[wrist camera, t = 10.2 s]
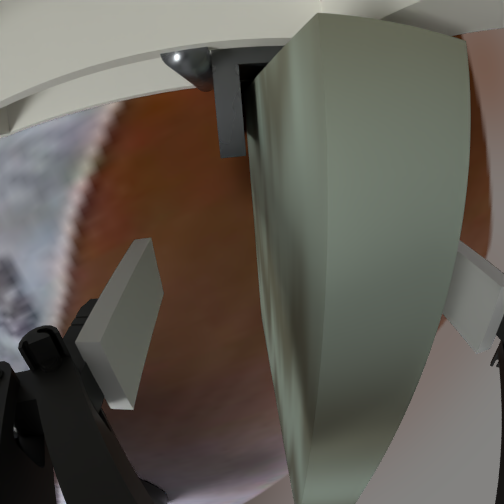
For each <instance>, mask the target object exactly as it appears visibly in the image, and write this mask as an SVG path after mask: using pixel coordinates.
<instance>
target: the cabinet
mask: <svg viewBox="0 0 504 504" xmlns="http://www.w3.org/2000/svg"><path fill="white" fill-rule="evenodd" d="M316 13H330V14H340V15H350V16H358V17H365V18H372V19H378V20H384V21H390V22H395V23H400V24H405V25H409V26H414V27H418V28H422V29H426V30H430V31H434V32H438V33H441V34H445V35H448V36H454V35H459V34H465V33H471V32H478V31H484V30H492V29H501V28H504V0H0V138H3V137H7V136H9V135H12V134H14V133H17V132H20V131H22V130H25V129H28V128H30V127H33V126H36V125H39V124H42V123H45V122H48V121H51V120H54V119H57V118H60V117H63V116H66V115H70V114H73V113H76V112H80V111H83V110H87V109H91V108H95V107H98V106H102V105H106V104H110V103H115V102H119V101H123V100H128V99H132V98H137V97H142V96H147V95H153V94H158V93H164V92H170V91H176V90H183V89H190V88H197V87H195V86H194V85H193V84H191V83H190V82H189V81H187V80H186V79H185V78H183V77H182V76H181V75H179V74H178V73H177V72H175V71H174V70H173V69H171V68H170V67H169V66H167V65H166V64H165V63H164V62H163V60H162V58H161V55H160V54H162V53H168V52H174V51H180V50H186V49H193V48H201V47H208V49H209V50H210V53H211V50H216V49H227V48H239V47H256V46H285V45H286V44H287V43H288V42H289V41H290V40H291V39H292V37H293V36H294V35H295V34H296V33H297V32H298V31H299V30H300V29H301V28H302V27H303V26H304V25H305V24H306V23H307V22H308V21H309V20H310V19H311V18H312V17H313V16H314V15H315V14H316ZM253 80H254V79H252V80H240V83H247V82H252V81H253Z"/></svg>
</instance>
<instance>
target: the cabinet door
mask: <svg viewBox="0 0 504 504" xmlns="http://www.w3.org/2000/svg"><path fill="white" fill-rule="evenodd" d="M244 102H245V114H246V127H247V139H248V151H249V163H250V176H251V188H252V201H253V213H254V226H255V238H256V251H257V264H258V277H259V290H260V303H261V316H262V322H263V328H264V333H265V339H266V345H267V351H268V356H269V362H270V368H271V373H272V379H273V385H274V391H275V396H276V402H277V408H278V413H279V419H280V425H281V430H282V436H283V442H284V448H285V453H286V459H287V465H288V470H289V476H290V482H291V487H292V493H293V498H294V504H355V503H356V501H357V500H358V498H359V497H360V495H361V494H362V492H363V491H364V489H365V487H366V486H367V484H368V482H369V481H370V479H371V477H372V476H373V474H374V472H375V471H376V469H377V467H378V465H379V464H380V462H381V460H382V458H383V456H384V455H385V453H386V451H387V449H388V447H389V445H390V443H391V441H392V439H393V437H394V435H395V433H396V431H397V429H398V427H399V425H400V423H401V421H402V419H403V417H404V415H405V412H406V410H407V408H408V406H409V403H410V401H411V399H412V396H413V394H414V392H415V389H416V387H417V384H418V382H419V379H420V377H421V374H422V372H423V369H424V366H425V364H426V361H427V358H428V356H429V353H430V350H431V347H432V344H433V341H434V338H435V335H436V332H437V329H438V325H439V322H440V319H441V315H442V312H443V308H444V305H445V301H446V297H447V294H448V290H449V286H450V282H451V278H452V273H453V269H454V264H455V260H456V255H457V250H458V244H459V239H460V233H461V227H462V221H463V214H464V207H465V199H466V191H467V181H468V169H469V154H470V126H471V109H470V81H469V66H468V55H467V46H466V41H464V40H461V39H458V38H455V37H452V36H448V35H445V34H441V33H438V32H434V31H430V30H426V29H422V28H418V27H414V26H409V25H405V24H400V23H395V22H390V21H384V20H378V19H372V18H365V17H358V16H350V15H340V14H330V13H316V14H315V15H314V16H313V17H312V18H311V19H310V20H309V21H308V22H307V23H306V24H305V25H304V26H303V27H302V28H301V29H300V30H299V31H298V32H297V33H296V34H295V35H294V36H293V37H292V39H291V40H290V41H289V42H288V43H287V44H286V45H285V46H284V47H283V48H282V49H281V50H280V51H279V52H278V53H277V54H276V56H275V57H274V58H273V59H272V60H271V61H270V62H269V63H268V64H267V65H266V67H265V68H264V69H263V70H262V71H261V72H260V73H259V74H258V75H257V77H256V78H255V79H254V80H253V81H252V82H251V84H250V85H249V86H248V87H247V88H246V89H245V91H244Z"/></svg>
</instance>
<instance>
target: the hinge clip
mask: <svg viewBox="0 0 504 504" xmlns="http://www.w3.org/2000/svg"><path fill="white" fill-rule="evenodd" d="M283 47H284V46H256V47H239V48H227V49H216V50H211V53H210V50H209V49H208V47H201V48H193V49H186V50H180V51H174V52H168V53H162V54H160V55H161V58H162V60H163V62H164V63H165V64H166V65H167V66H169V67H170V68H171V69H173V70H174V71H175V72H177V73H178V74H179V75H181V76H182V77H183V78H185V79H186V80H187V81H189V82H190V83H191V84H193V85H194V86H195V87H197V88H198V89H199V90H201V91H204V92H208V91H211V90H213V89H214V92H215V103H216V114H217V125H218V135H219V145H220V155H221V158H228V157H238V156H246V149H245V137H244V125H243V113H242V101H241V89H240V80H252V79H255V78H256V77H257V75H258V74H259V73H260V72H261V71H262V70H263V69H264V68H265V67H266V65H267V64H268V63H269V62H270V61H271V60H272V59H273V58H274V57H275V56H276V54H277V53H278V52H279V51H280V50H281V49H282V48H283Z"/></svg>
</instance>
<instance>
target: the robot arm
mask: <svg viewBox="0 0 504 504" xmlns="http://www.w3.org/2000/svg"><path fill="white" fill-rule="evenodd" d="M163 295H164V292H163V288H162V284H161V279H160V275H159V271H158V267H157V262H156V258H155V253H154V249H153V244H152V239H151V238H144V239H136V240H134V241H133V243H132V244H131V246H130V247H129V249H128V251H127V252H126V254H125V255H124V257H123V259H122V260H121V262H120V263H119V265H118V267H117V268H116V270H115V272H114V273H113V275H112V277H111V278H110V280H109V282H108V283H107V285H106V287H105V288H104V290H103V292H102V294H101V295H100V297H99V299H90V300H89V301H88V302H87V303H86V304H85V305H83V306H82V307H81V308H80V310H79V312H78V313H77V315H76V318H75V319H74V320H73V322H72V324H71V326H70V327H69V329H68V331H67V332H66V334H65V336H64V338H63V339H62V337H61V335H60V333H59V331H58V329H57V328H56V327H53V326H41V327H37V328H35V329H33V330H31V331H30V332H28V333H27V334H26V335H25V336H24V337H23V338H22V340H21V341H20V343H19V347H18V349H19V351H20V353H21V355H22V356H23V358H24V360H25V361H26V363H27V365H28V366H29V368H30V370H28V371H23V372H18V373H15V372H14V371H13V369H12V368H11V366H10V364H9V363H7V362H5V361H2V362H0V504H56V495H55V485H54V472H53V467H54V470H55V473H56V476H57V479H58V482H59V485H60V488H61V491H62V493H63V496H64V499H65V501H66V504H167V501H168V497H167V495H166V494H165V493H164V492H163V491H162V490H160V489H159V488H157V487H155V486H154V485H152V484H149V483H147V482H145V481H142V480H140V479H139V478H138V476H137V474H136V472H135V471H134V469H133V467H132V466H131V464H130V462H129V460H128V458H127V457H126V455H125V453H124V451H123V449H122V447H121V445H120V444H119V442H118V440H117V438H116V436H115V434H114V432H113V430H112V428H111V426H110V424H109V421H108V419H107V417H106V415H105V413H104V412H103V410H102V409H101V406H102V402H103V399H104V398H105V400H106V401H107V403H108V405H109V406H110V408H111V409H126V410H133V409H134V405H135V401H136V396H137V392H138V388H139V384H140V380H141V375H142V371H143V367H144V364H145V360H146V356H147V352H148V348H149V344H150V341H151V337H152V333H153V330H154V326H155V322H156V319H157V315H158V312H159V308H160V305H161V301H162V298H163ZM442 313H443V314H444V316H445V317H446V318H447V319H448V320H449V321H450V323H451V324H452V325H453V326H454V327H455V328H456V330H457V331H458V332H459V333H460V334H461V336H462V337H463V338H464V339H465V341H466V342H467V343H468V344H469V346H470V347H471V348H472V349H473V350H474V352H475V353H476V354H478V353H481V352H483V351H485V350H488V349H490V348H491V346H492V344H493V341H494V339H495V337H496V335H497V336H498V337H499V339H500V340H501V341H500V344H499V346H498V348H497V350H496V353H495V355H494V357H493V359H492V361H491V364H490V366H493V365H494V363H495V361H496V360H497V359H499V362H498V364H497V365H496V367H499V368H500V381H501V402H502V437H501V439H502V440H501V457H500V469H499V480H498V488H497V495H496V501H495V504H504V273H502V272H501V271H500V270H499V269H497V268H496V267H495V266H494V265H492V264H491V263H490V262H489V261H487V260H486V259H484V258H483V257H482V256H480V255H479V254H478V253H476V252H475V251H474V250H472V249H471V248H470V247H468V246H467V245H466V244H464V243H463V242H461V241H460V240H459V244H458V250H457V255H456V260H455V264H454V269H453V273H452V278H451V282H450V286H449V290H448V294H447V297H446V301H445V305H444V308H443V312H442ZM13 430H14V431H13Z"/></svg>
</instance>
